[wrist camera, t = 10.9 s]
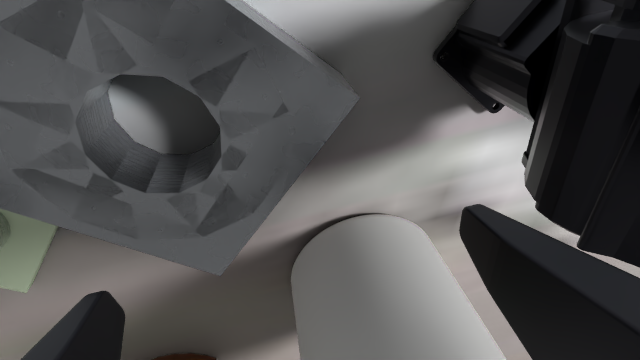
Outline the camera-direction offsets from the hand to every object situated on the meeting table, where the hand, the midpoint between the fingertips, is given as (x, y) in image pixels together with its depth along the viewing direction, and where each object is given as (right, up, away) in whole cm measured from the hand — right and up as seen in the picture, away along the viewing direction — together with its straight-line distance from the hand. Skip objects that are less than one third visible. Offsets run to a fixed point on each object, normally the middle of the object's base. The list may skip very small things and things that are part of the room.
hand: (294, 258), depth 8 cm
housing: (-8, +6, +10) cm, 14 cm away
